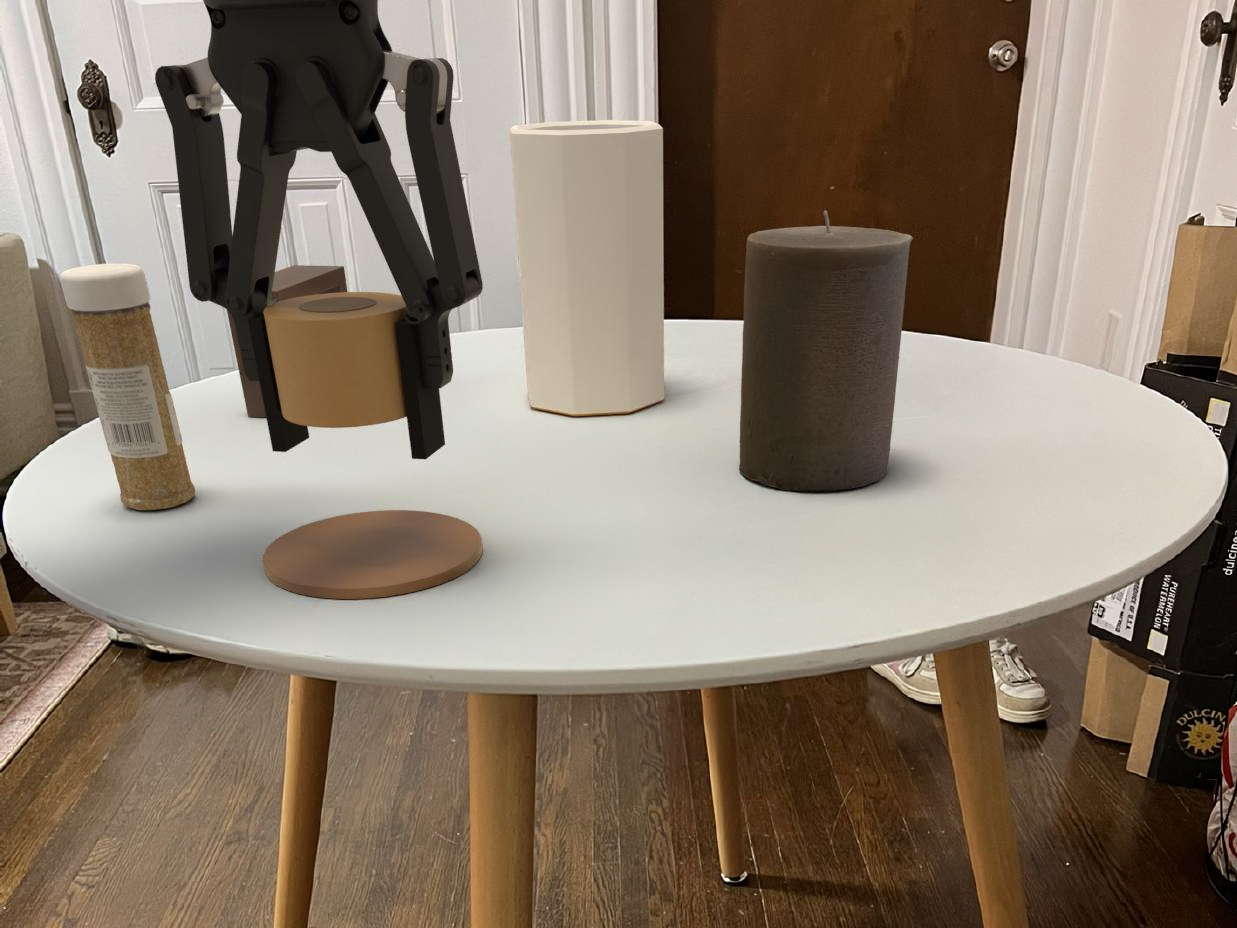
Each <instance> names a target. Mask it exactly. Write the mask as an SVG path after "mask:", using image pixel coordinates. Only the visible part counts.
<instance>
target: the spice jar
mask: <svg viewBox="0 0 1237 928" xmlns="http://www.w3.org/2000/svg"><path fill="white" fill-rule="evenodd" d="M59 280H60V284H61V288H62V289H61V290H62V292H63V297H64V301H65V303H66V304H65V305H66V307H67V308H68V309H70V315H71V316H72V318H73V321H74V324H75V328H76V332H77V336H78V340H79V343H80V347H81V351H82V354H83V359H84V366H85V370H86V373H87V377H88V381H89V384H90V388H91V392H92V397H93V399H94V403H95V407H96V410H97V413H98V418H99V421H100V425H101V429H102V432H103V435H104V439H105V443H106V447H107V450H108V453H109V454H110V457H111V461H112V464H113V467H114V472H115V476H116V479H117V483H118V486H119V492H120V496H119V497H120V502H121V503H122V504H123V505H124V506H126V507H127V508H130V509H133V510H138V511H139V510H140V511H155V510H156V511H157V510H166V509H171V508H176V507H177V506H180V505H183V504H186V503H187V502H190V501H191V500H192V498H193V497H194V496H195V493H196V487H195V485H194V483H193V482H192V479H191V475H190V470H189V468H188V467H189V466H188V464H187V457H186V455H185V451H184V446H183V437H182V433H181V429H180V423H179V421H178V417H177V413H176V412H177V411H176V408H175V403H174V400H173V396H172V393H171V391H170V388H169V384H168V379H167V375H166V371H165V367H164V364H163V360H162V355H161V351H160V346H159V342H158V338H157V335H156V331H155V326H154V322H153V320H152V319H153V318H152V317H153V316H152V314H151V304H150V300H151V294H150V291H149V286H148V282H147V278H146V275H145V272H144V269H143V268H142V267H141V266H139V265H138V264H133V263H98V264H89V265H83V266H77V267H72V268H69V269H65V270H64V271H62V272H61V273H60V275H59Z"/></svg>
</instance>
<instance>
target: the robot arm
mask: <svg viewBox="0 0 1237 928" xmlns="http://www.w3.org/2000/svg"><path fill="white" fill-rule="evenodd" d="M202 1H203V4H204V5H205V9H206V11H207V14H208V16H209V20H210V39H209V44H208V46H207V47H208V48H207V57H204V58H201V59H198V60H196V61H192V62H190V63H187V64H173V65H161V66H159V67H158V68H157V69H156V71H155V74H154V80H155V86H156V88H157V91H158V93H159V96H160V98H161V101H162V104H163V107H164V109H165V112H166V114H167V117H168V120H169V123H170V125H171V129H172V138H173V148H174V155H175V157H174V158H175V164H176V165H175V167H176V174H177V184H178V194H179V202H180V212H181V221H182V230H183V239H184V249H185V257H186V265H187V267H186V268H187V275H188V284H189V285H188V286H189V290H190V293H191V295H192V297H194V298H195V299H196V300H197V301H199V302H211V303H213V304H216V305H217V306H220V307H222V308H224V309H225V310H226V311H227V310H228V311H229V312H230V314H231V315H232V317H233V320H234V323H235V328H236V333H237V338H238V343H239V348H240V354H241V358H242V364H243V369H244V372H245V374H246V376H247V377H248V379H249V381H259V382H260V387H261V392H262V398H263V403H264V408H265V413H266V423H267V428H268V433H269V439H270V444H271V449H272V452H275V453H276V452H277V453H286V452H288V451H290V450H292V449H294V448H296V446H298V445H300V444H302V443H303V442H305V441H307V440H309V439H310V433H309V426H304V425H299V424H295V423H292V422H289V421H288V420H286V419H285V418H284V417H283V415H282V410H281V404H280V399H279V393H278V388H277V383H276V377H275V372H274V366H273V361H272V356H271V350H270V345H269V339H268V334H267V328H266V323H265V318H264V309H265V308H266V307H267V306H269V305H271V304H273V303H275V302H276V301H277V298H278V297H277V296H275V297H272V296H273V294H272V288H273V281H274V274H275V272H276V268H277V267H276V266H277V259H278V252H279V245H280V238H281V231H282V224H283V217H284V209H285V203H286V197H287V188H288V182H289V175H290V171H291V170H292V168H293V167H294V165H295V162H296V159H297V152H298V151H302V150H308V149H309V150H312V151H315V152H318V153H331V154H332V156H333V158H334V159H333V160H334V161H335V162H336V165H337V167H338V168H339V170H340V171H341V172H342V173H343V174H344V175H345V176H346V177H347V179H348V180H349V182H350V185H351V187H352V189H353V191H354V194H355V196H356V198H357V200H358V202H359V204H360V206H361V209H362V211H363V214H364V216H365V218H366V220H367V222H368V224H369V227H370V229H371V231H372V233H373V236H374V238H375V240H376V242H377V245H378V246H379V249H380V251H381V253H382V256H383V258H384V260H385V262H386V265H387V266H388V269H389V271H390V273H391V276H392V278H393V280H394V282H395V284H396V287H397V288H398V291H399V293H400V295H401V296H402V298H403V300H404V302H405V304H406V307H407V309H408V311H409V313H407V314H405V315H403V316H404V319H402V320H400V321H398V322H396V323H395V329H396V337H397V344H398V352H399V360H400V368H401V376H402V384H403V391H404V399H405V407H406V415H407V417H406V422H407V431H408V438H409V446H410V453H411V459H412V460H427V459H429V458H430V457H431V456H432V455H434V454H435V453H436V452H437V451H439V450H440V449H441V448H443V447H444V446H445V445H446V439H445V429H444V419H443V412H442V403H441V394H440V389H442V388H443V387H445V386H446V385H449V383H451V382H452V379H453V374H454V364H453V354H452V344H451V336H450V335H451V334H450V326H449V325H450V324H449V317H450V313H451V311H452V310H454V309H456V308H459V307H461V306H462V305H465V304H467V303H468V302H470V301H472V300H474V299H476V298H478V297H479V296H481V294H482V292H483V288H484V287H483V286H484V283H483V279H482V274H481V268H480V263H479V258H478V254H477V249H476V244H475V239H474V233H473V228H472V223H471V219H470V213H469V208H468V203H467V198H466V193H465V187H464V183H463V177H462V172H461V168H460V164H459V157H458V153H457V148H456V144H455V143H456V142H455V138H454V133H453V128H452V123H451V114H452V113H451V112H452V102H453V90H454V80H455V79H454V78H455V77H454V70H453V67H452V65H451V63H450V62H449V61H448V60H447V59H445V58H443V57H433V58H432V57H431V58H419V57H415V56H411V55H407V54H403V53H399V52H396V51H393V49H392V46H391V43H390V41H389V40H388V38H387V36H386V35H385V32H384V31H383V28H382V25H381V22H380V18H379V7H378V6H379V0H202ZM388 84H390V86H392V89H393V91H394V97H395V102H396V104H397V106H398V108H399V109H400V110H401V111H402V112H403V113H404V120H405V122H404V123H405V131H406V136H407V142H408V143H407V144H408V147H409V152H410V157H411V162H412V165H413V170H414V174H415V180H416V184H417V189H418V193H419V197H420V203H421V207H422V212H423V216H424V220H425V225H426V230H427V234H428V239H429V243H430V248H429V246H428V243H427V242H426V239H425V237H424V234H423V231H422V230H421V226H420V224H419V223H418V221H417V218H416V216H415V213H414V211H413V208H412V206H411V204H410V202H409V200H408V197H407V195H406V193H405V191H404V188H403V186H402V183H401V181H400V179H399V175H398V174H397V172H396V170H395V167H394V165H393V161H392V151H391V150H392V149H391V147H390V145H389V142H388V140H387V138H386V136H385V133H384V131H383V128H382V126H381V124H380V121H379V119H378V117H377V115H376V112H377V109H378V107H379V104H380V102H381V100H382V98H383V95H384V93H385V91H386V88H387V86H388ZM222 91H223V92H224V94H225V95H226V96H227V97H228V99H229V100H230V101H231V103H232V104H233V105H234V107H235V108H236V109H237V111H238V112H239V114H240V123H239V133H238V141H237V148H236V149H237V150H236V161H237V163H238V164H239V165H240V166H239V167H240V169H239V170H240V172H239V179H238V187H237V196H236V204H235V213H234V220H233V227H232V215H231V213H232V212H231V203H230V191H229V180H228V171H227V170H228V169H227V157H226V147H225V135H224V129H223V123H222V119H221V115H220V112H221V110H222V106H223V105H224V103H225V102H224V97H223V95H222V94H221V93H222ZM430 249H431V250H430ZM271 297H272V298H271Z"/></svg>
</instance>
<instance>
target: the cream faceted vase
mask: <svg viewBox="0 0 1237 928" xmlns="http://www.w3.org/2000/svg"><path fill="white" fill-rule="evenodd" d="M509 142H510V155H511V156H510V157H511V170H512V184H513V199H514V214H515V228H516V243H517V256H518V257H517V258H518V272H519V273H518V274H519V289H520V301H521V316H522V317H521V318H522V333H523V344H524V345H523V347H524V361H525V373H526V375H525V376H526V389H527V390H526V391H527V396H528V397H527V398H528V400H529V405H530V407H532V408H533V409H534V410H539V411H543V412H544V411H545V412H549V413H555V414H559V415H564V416H565V415H566V416H569V417H570V416H571V417H586V416H587V417H591V416H608V415H609V416H610V415H625V414H632V413H633V412H636V411H638V410H642V409H644V408H647V407H650V406H653V405H655V404H658V403H661V402H662V401H664V400H665V306H664V305H665V296H664V295H665V294H664V293H665V291H664V290H665V283H664V282H665V281H664V278H665V277H664V274H665V271H664V269H665V267H664V266H665V265H664V264H665V263H664V262H665V261H664V259H665V258H664V127H662V125H660V124H659V123H657V122H656V121H652V120H628V119H627V120H622V119H621V120H620V119H598V120H569V121H568V120H566V121H546V122H536V123H526V124H515V125H512V126H511V128H510V129H509Z"/></svg>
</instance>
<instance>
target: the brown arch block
mask: <svg viewBox="0 0 1237 928" xmlns="http://www.w3.org/2000/svg"><path fill="white" fill-rule="evenodd" d="M340 292H348V285H347V278H346V272H345V266H344V265H301V264H300V265H298V264H297V265H296V264H295V265H294V264H293V265H290V266H287V267H285V268H283V269H282V268H281V269H279V270H275V274H274V281H273V288H272V294H273V296H272V297H275V296H277V297H278V298H277V301H276V302H279V301H283V300H287V299H291V298H296V297H302V296H309V295H317V294H326V293H340ZM272 297H271V298H272ZM276 302H275V303H276ZM226 314H227V319H228V324H229V328H230V333H231V338H232V343H233V348H234V354H235V357H236V358H235V359H236V363H237V367H238V368H237V369H238V374H239V378H240V383H241V384H240V385H241V388H242V394H243V398H244V402H245V408H246V413H247V417H249V418H264V419H265V418H266V413H265V408H264V403H263V398H262V392H261V387H260V382H259V381H249V379H248V377H247V376H246V374H245V372H244V369H243V364H242V358H241V354H240V348H239V343H238V338H237V333H236V328H235V323H234V320H233V317H232V315H231V314H230V312H229V311H228V310H227V309H226ZM266 419H267V418H266Z"/></svg>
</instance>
